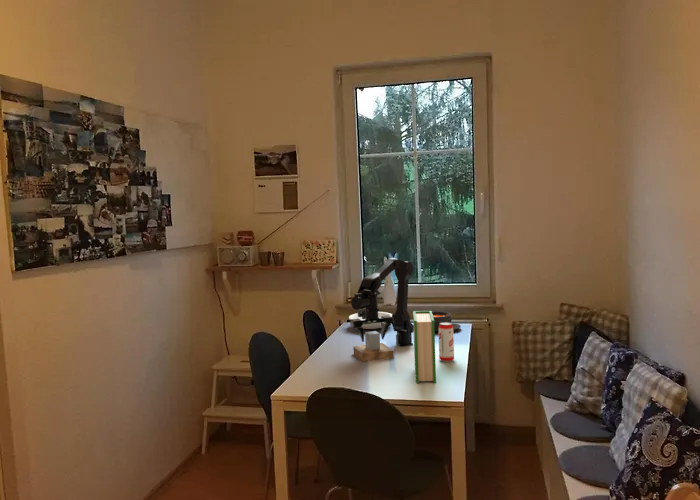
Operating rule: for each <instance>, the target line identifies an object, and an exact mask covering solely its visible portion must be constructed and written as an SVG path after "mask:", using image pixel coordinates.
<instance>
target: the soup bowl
mask: <svg viewBox="0 0 700 500" xmlns="http://www.w3.org/2000/svg"><path fill="white" fill-rule="evenodd" d="M392 314H393V313H390V312H386V311H378V318H381V317H382V316H386V315H389V316H391V317H392ZM351 319H360V320H366V319H362V317H358V312H357V313H353V314H350V315H349V317H348V320H349V321H351ZM368 322H369V321H368ZM370 322H371V321H370ZM362 327H363V330H364V329H365V330H376V329H382V326H381V322H380V323H372V324H363V325H362Z"/></svg>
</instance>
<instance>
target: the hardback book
mask: <svg viewBox="0 0 700 500" xmlns="http://www.w3.org/2000/svg"><path fill="white" fill-rule="evenodd" d="M412 317H413V318H412V319H413V320H412V321H413V323H412V325H413V326H414V332H413V346H414V349H413V350H414V351H413V352H414V353H413V354H414V372H415V373H414V374H415V375H416V376H415V384H418V385H419V382H433V384H437V375H436V374H437V373H436V372H437V369H436V339H435V338H436V336H435V334H436V332H435V330H434V318H433V314H432V310H413V311H412Z"/></svg>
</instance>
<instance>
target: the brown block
mask: <svg viewBox="0 0 700 500" xmlns="http://www.w3.org/2000/svg"><path fill="white" fill-rule="evenodd" d="M352 350H353V355H355V357H357V359H359V360H361V362H362V363H367V362H375V361H383V360H389V359H390V360H391V359H394V358H395V356H394V355H395V353H394V352H395V351H394V349H392V348H391V347H389V346H388V345H387V344H385V343H383V342H380V349H376V350H368V349H367V348H366V344H362V345H361V344H360V345H354V346H353V349H352Z"/></svg>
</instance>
